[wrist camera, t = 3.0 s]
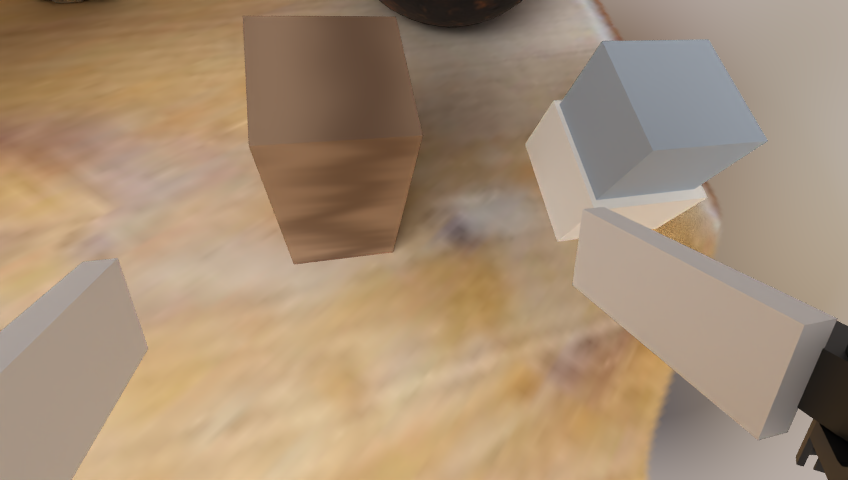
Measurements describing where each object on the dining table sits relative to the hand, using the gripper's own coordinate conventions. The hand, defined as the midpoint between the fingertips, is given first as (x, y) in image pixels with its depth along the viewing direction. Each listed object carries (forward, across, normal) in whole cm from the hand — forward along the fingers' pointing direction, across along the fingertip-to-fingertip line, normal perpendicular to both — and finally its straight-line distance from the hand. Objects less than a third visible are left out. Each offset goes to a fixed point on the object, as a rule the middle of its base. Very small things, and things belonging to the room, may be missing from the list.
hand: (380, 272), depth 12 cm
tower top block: (+12, +18, +1) cm, 21 cm away
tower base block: (+15, +18, -3) cm, 24 cm away
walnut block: (+15, -1, -3) cm, 15 cm away
